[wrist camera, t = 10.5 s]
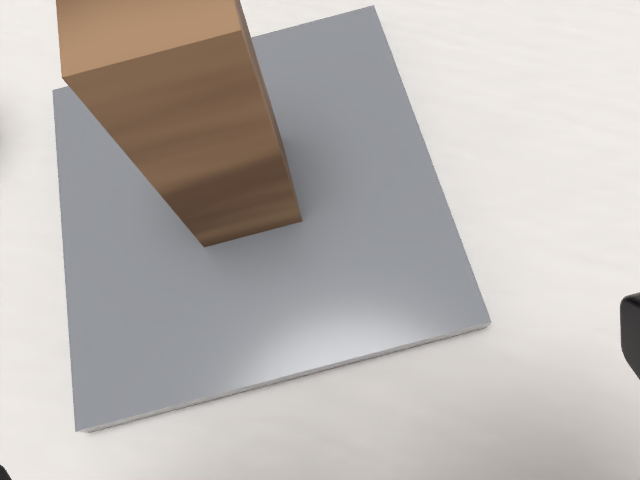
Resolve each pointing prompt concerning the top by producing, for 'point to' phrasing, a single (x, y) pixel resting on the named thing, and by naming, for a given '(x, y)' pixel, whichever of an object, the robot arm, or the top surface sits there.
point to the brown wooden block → (184, 107)
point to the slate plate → (263, 243)
